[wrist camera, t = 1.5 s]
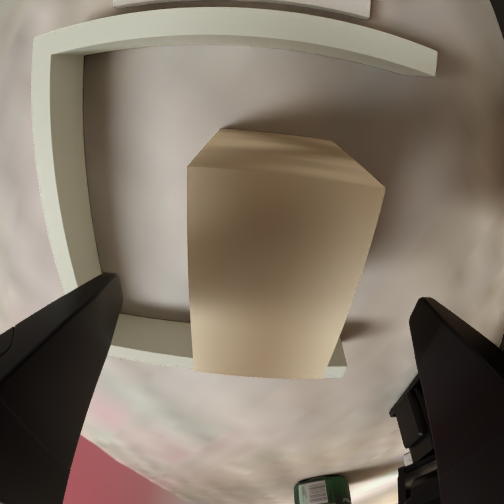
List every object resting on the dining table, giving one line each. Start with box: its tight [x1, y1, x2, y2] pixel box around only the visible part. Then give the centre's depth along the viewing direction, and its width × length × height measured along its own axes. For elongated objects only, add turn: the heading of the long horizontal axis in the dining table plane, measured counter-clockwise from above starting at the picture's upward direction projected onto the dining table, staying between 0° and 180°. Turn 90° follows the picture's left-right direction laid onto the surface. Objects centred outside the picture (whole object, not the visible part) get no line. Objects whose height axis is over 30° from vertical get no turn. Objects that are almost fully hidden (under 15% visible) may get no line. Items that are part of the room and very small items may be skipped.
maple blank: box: [187, 129, 386, 379], centre depth 11 cm, size 4×7×6 cm, turn 175°
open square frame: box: [31, 7, 438, 378], centre depth 12 cm, size 14×16×2 cm
